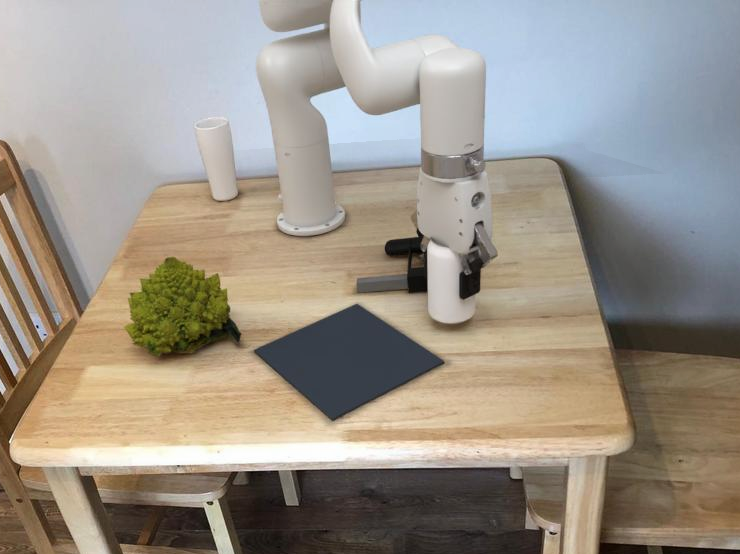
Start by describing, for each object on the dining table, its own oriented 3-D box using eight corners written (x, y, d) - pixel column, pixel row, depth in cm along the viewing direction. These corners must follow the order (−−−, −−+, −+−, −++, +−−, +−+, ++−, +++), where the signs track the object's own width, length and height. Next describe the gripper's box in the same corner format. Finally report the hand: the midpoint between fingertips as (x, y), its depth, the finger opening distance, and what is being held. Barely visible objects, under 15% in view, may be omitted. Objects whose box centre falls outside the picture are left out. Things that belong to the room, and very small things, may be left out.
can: (424, 303, 109) (422, 228, 102) (468, 297, 109) (470, 221, 102) (433, 328, 104) (432, 250, 97) (480, 322, 104) (482, 244, 97)
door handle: (352, 298, 112) (463, 289, 108) (362, 236, 127) (460, 226, 124) (355, 318, 113) (464, 309, 110) (365, 254, 129) (461, 245, 126)
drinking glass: (240, 201, 151) (226, 126, 142) (207, 205, 151) (191, 130, 142) (243, 188, 156) (230, 115, 147) (211, 191, 157) (196, 118, 148)
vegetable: (268, 316, 107) (190, 248, 100) (196, 400, 108) (112, 338, 100) (236, 290, 120) (165, 228, 112) (172, 365, 120) (96, 308, 112)
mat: (254, 352, 108) (253, 349, 108) (357, 305, 115) (356, 303, 114) (332, 421, 94) (332, 418, 93) (444, 363, 101) (444, 360, 100)
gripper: (526, 169, 89) (517, 300, 100) (430, 133, 100) (431, 253, 112) (477, 189, 86) (474, 321, 97) (384, 149, 98) (391, 271, 109)
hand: (451, 284), depth 104 cm, fingers closed on can, 6 cm apart
